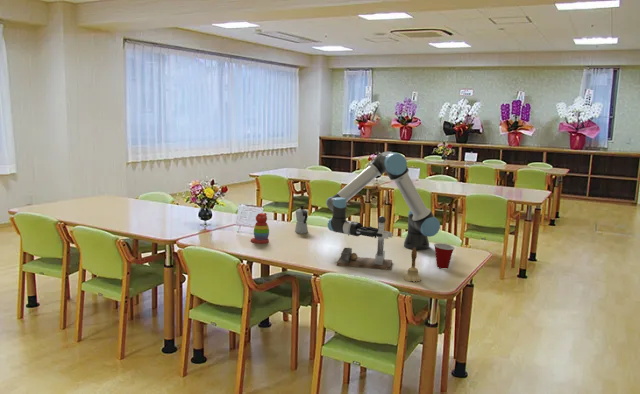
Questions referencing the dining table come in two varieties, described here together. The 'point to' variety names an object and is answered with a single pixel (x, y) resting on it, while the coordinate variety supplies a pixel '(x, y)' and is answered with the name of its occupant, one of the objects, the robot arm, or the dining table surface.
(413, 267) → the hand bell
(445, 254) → the plastic cup
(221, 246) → the dining table surface
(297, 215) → the coffee maker
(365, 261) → the press base
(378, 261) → the grey upright post
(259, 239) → the stacking bear
